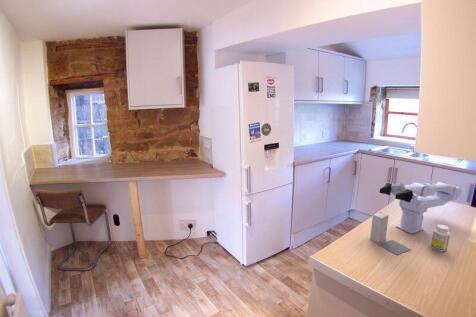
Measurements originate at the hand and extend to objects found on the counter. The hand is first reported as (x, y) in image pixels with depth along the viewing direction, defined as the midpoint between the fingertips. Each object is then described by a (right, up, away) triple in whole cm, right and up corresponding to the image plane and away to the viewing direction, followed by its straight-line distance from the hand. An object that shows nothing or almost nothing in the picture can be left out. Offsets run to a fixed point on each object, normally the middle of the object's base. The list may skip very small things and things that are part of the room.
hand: (388, 193), depth 118 cm
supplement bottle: (+20, -23, -3) cm, 31 cm away
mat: (+1, -23, -3) cm, 23 cm away
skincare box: (-3, -22, +4) cm, 22 cm away
